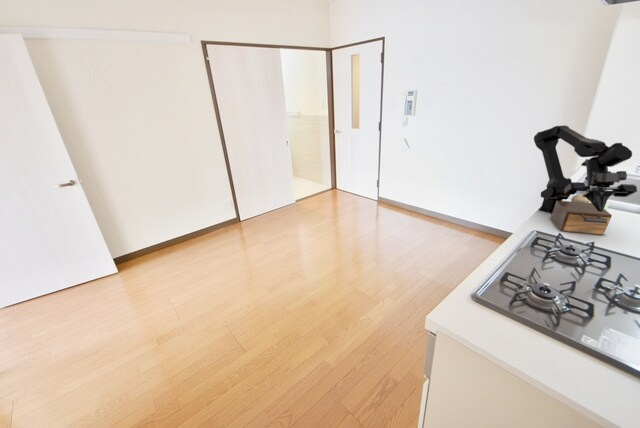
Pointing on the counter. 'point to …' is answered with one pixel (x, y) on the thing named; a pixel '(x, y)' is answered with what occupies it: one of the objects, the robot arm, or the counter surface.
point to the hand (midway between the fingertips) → (600, 211)
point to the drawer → (586, 223)
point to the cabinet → (574, 212)
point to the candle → (579, 199)
